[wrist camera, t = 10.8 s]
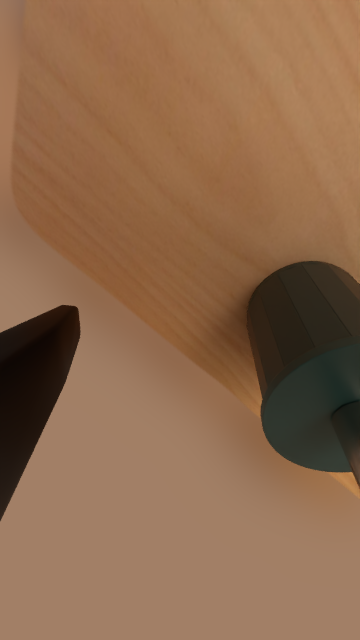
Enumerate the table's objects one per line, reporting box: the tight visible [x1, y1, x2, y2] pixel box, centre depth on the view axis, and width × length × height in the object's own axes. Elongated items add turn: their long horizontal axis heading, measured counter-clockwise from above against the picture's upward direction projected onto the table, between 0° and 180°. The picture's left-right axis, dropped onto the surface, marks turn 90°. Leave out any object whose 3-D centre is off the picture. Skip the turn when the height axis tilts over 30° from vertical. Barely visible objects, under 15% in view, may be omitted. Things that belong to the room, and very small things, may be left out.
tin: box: [247, 261, 360, 398], centre depth 19 cm, size 8×8×9 cm
